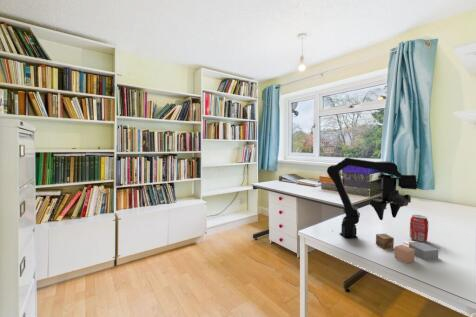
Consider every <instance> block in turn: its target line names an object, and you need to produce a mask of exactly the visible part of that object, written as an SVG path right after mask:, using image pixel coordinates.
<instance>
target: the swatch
mask: <svg viewBox="0 0 476 317" xmlns="http://www.w3.org/2000/svg"><path fill="white" fill-rule="evenodd" d="M412 243H420V242H419V241H415V240H411V241H403V244H405V245H406V246H409V244H412Z"/></svg>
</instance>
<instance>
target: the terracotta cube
mask: <svg viewBox="0 0 476 317" xmlns="http://www.w3.org/2000/svg"><path fill="white" fill-rule="evenodd" d="M393 249H394V250H393V251H394V252H393V253H394V254H393V256H394V257H393V258H394V259H395V260H398V261H400V262H403V263H404V264H410V263H412V262H415V258H416V257H415V256H416V255H415V249H412V248H410V247H409V246H408V245H406V244H405V245H404V244H399V245H395V246H394V248H393Z"/></svg>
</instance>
